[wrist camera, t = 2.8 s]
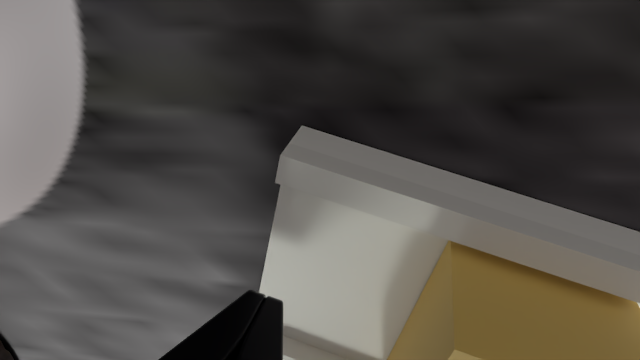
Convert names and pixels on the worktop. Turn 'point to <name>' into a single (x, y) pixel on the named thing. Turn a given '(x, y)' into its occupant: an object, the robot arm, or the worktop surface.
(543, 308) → the carriage
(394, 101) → the worktop surface
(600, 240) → the rail
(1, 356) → the mortar and pestle
